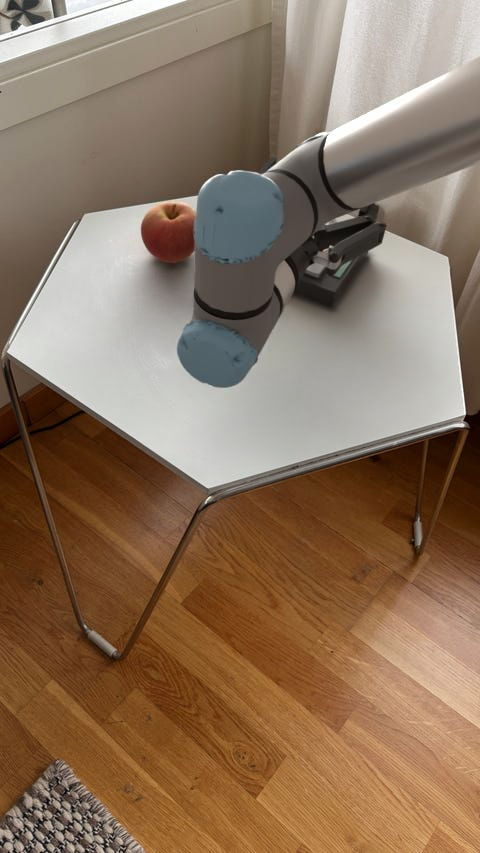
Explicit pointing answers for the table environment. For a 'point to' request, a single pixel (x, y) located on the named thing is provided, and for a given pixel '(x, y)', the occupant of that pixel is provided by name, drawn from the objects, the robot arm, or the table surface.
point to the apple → (169, 231)
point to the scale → (327, 281)
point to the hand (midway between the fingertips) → (322, 180)
